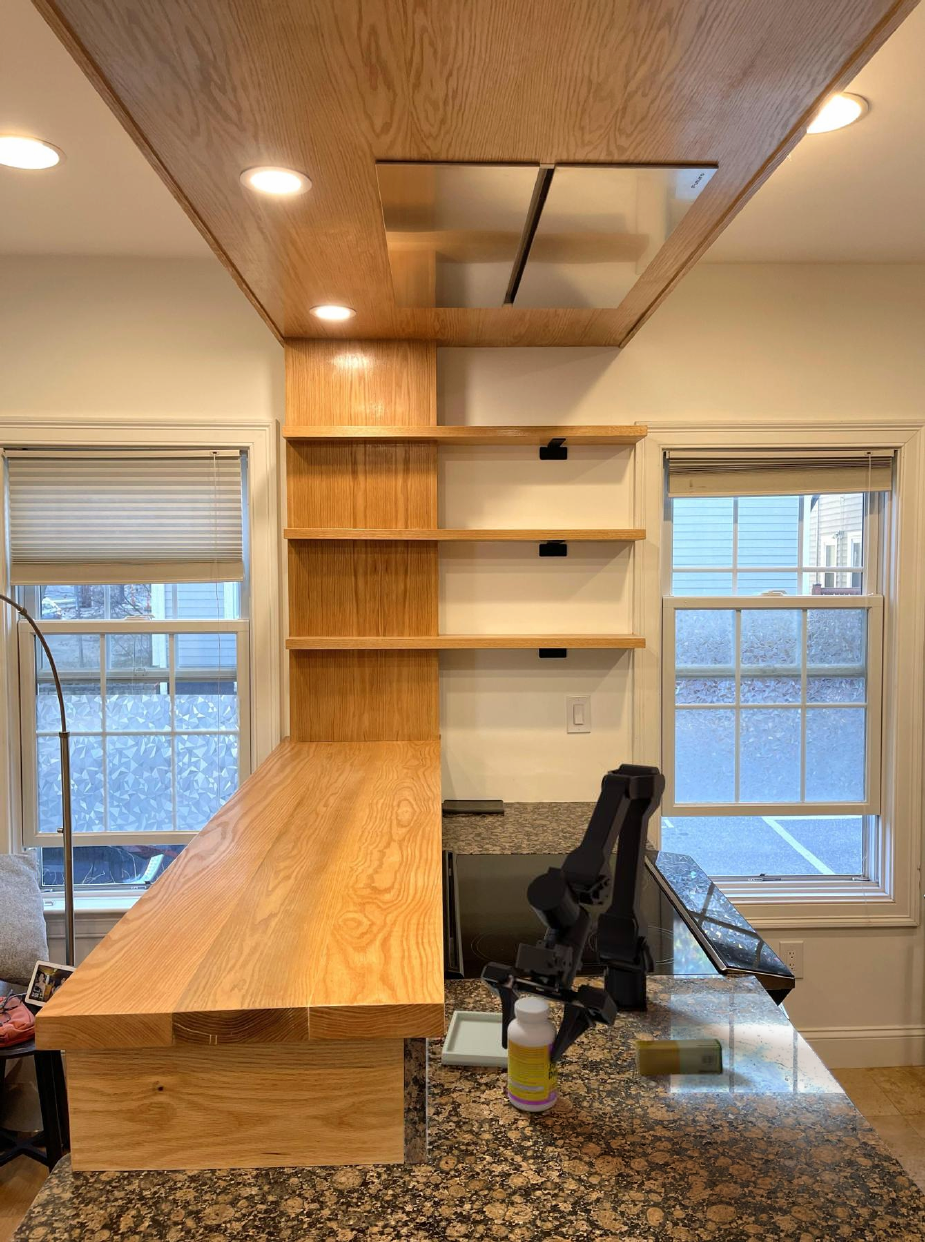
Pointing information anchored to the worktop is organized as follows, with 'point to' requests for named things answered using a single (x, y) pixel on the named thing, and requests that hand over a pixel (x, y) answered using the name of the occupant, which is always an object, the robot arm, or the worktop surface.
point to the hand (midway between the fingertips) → (527, 1055)
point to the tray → (475, 1040)
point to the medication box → (679, 1057)
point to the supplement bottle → (531, 1056)
